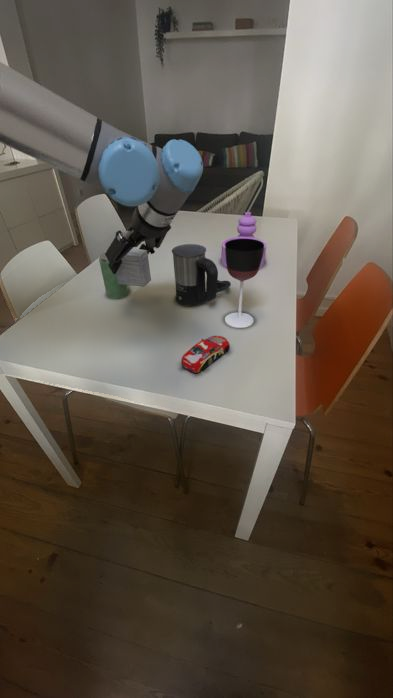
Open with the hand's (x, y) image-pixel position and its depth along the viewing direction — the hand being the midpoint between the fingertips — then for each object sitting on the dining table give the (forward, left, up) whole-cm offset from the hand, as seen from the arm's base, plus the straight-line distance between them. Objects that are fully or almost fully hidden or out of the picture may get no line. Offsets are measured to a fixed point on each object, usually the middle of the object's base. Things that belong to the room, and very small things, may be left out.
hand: (125, 264), depth 85 cm
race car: (+22, -24, -12) cm, 35 cm away
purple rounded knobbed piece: (+35, +34, -12) cm, 50 cm away
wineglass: (+31, -9, -12) cm, 34 cm away
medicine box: (+3, -2, -4) cm, 6 cm away
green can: (-5, +5, -12) cm, 14 cm away
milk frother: (+21, +4, -12) cm, 24 cm away
